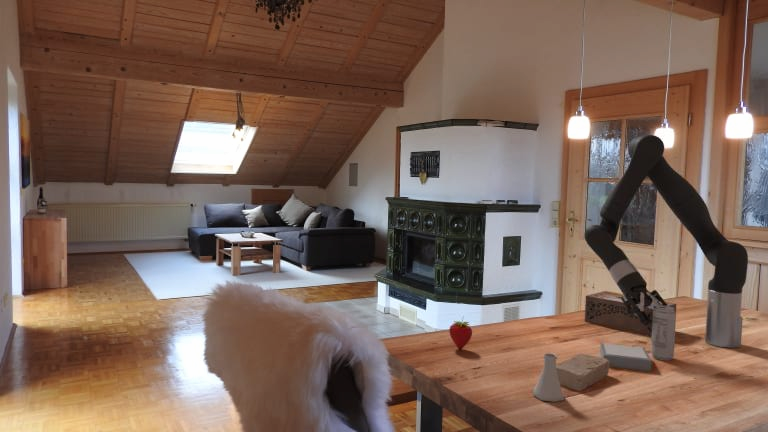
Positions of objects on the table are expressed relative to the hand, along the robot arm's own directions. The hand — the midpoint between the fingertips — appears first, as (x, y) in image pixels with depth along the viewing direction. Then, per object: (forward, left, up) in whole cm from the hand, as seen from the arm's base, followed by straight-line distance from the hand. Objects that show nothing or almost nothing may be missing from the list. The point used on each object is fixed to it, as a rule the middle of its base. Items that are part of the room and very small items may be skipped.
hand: (658, 323), depth 158 cm
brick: (+22, +28, -10) cm, 37 cm away
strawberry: (+56, +15, -10) cm, 59 cm away
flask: (+30, +43, -10) cm, 53 cm away
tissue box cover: (+4, -34, -10) cm, 36 cm away
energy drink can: (-1, +1, -10) cm, 10 cm away
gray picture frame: (+10, +9, -10) cm, 17 cm away
